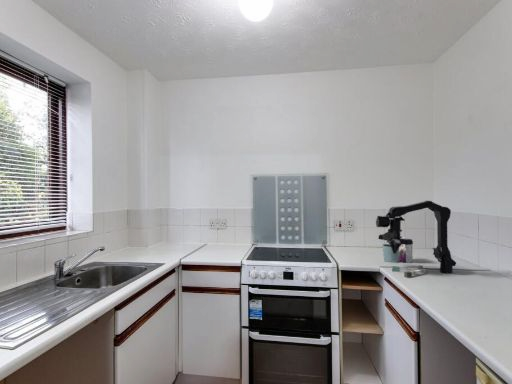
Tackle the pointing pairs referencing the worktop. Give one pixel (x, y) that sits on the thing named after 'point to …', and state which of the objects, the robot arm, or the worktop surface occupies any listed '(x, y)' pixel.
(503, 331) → the worktop surface
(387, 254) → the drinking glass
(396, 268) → the hinged jaw
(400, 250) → the candy bar box
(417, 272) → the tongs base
